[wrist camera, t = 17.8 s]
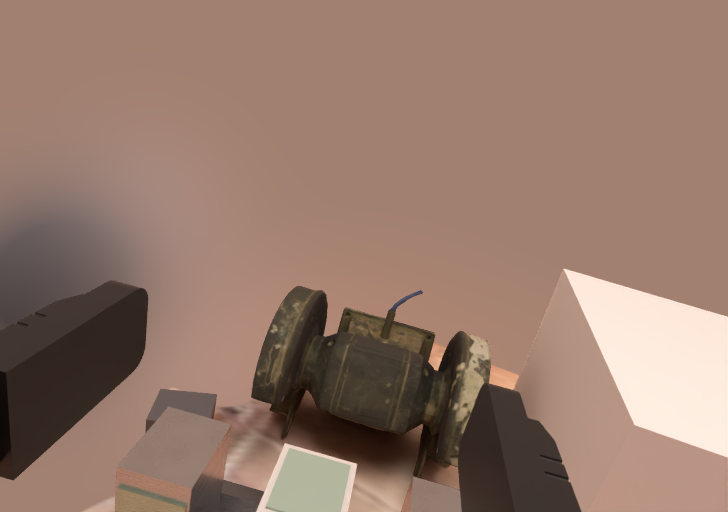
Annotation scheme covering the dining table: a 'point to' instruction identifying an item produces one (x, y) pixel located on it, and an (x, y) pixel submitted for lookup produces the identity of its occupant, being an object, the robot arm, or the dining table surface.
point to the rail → (214, 473)
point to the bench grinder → (371, 373)
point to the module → (308, 483)
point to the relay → (182, 404)
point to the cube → (632, 397)
